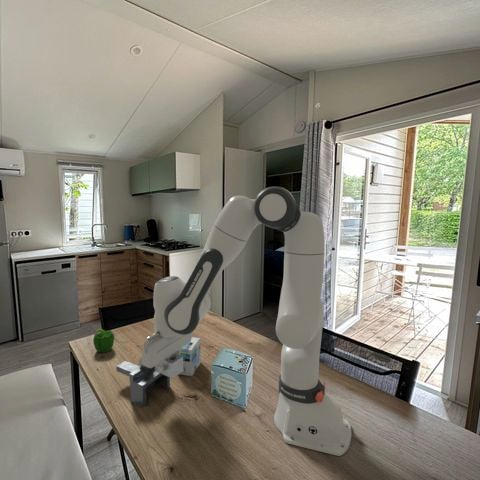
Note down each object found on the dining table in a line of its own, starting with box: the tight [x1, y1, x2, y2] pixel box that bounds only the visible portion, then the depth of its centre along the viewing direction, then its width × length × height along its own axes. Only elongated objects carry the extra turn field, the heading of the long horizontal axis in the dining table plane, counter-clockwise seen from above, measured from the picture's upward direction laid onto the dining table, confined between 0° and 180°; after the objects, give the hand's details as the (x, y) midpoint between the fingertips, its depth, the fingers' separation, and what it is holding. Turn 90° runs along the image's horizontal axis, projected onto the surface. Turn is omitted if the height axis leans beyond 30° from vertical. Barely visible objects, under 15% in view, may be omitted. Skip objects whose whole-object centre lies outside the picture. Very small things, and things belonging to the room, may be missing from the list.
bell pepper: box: [92, 328, 115, 353], centre depth 130 cm, size 8×8×10 cm
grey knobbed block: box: [155, 353, 183, 379], centre depth 95 cm, size 8×5×5 cm, turn 57°
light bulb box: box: [179, 336, 202, 377], centre depth 116 cm, size 11×7×11 cm, turn 168°
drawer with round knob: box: [115, 356, 171, 408], centre depth 103 cm, size 18×13×13 cm
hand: (169, 366), depth 95 cm, fingers closed on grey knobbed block, 5 cm apart
